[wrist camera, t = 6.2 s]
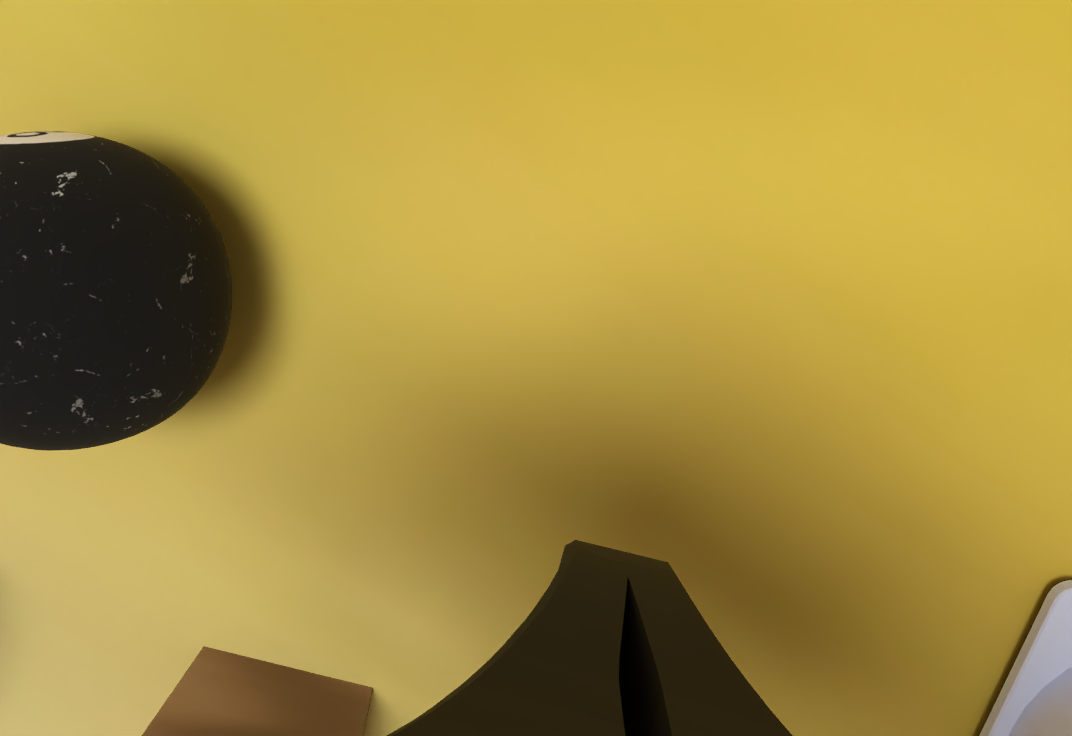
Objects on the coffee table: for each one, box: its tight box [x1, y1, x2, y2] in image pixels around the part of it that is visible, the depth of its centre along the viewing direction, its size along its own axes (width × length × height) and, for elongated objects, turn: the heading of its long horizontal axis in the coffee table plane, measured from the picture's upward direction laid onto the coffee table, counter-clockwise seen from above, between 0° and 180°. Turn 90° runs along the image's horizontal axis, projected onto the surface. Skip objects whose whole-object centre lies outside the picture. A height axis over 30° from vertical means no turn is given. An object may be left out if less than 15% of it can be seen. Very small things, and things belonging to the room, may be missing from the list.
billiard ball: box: [0, 131, 232, 450], centre depth 18 cm, size 6×6×6 cm
